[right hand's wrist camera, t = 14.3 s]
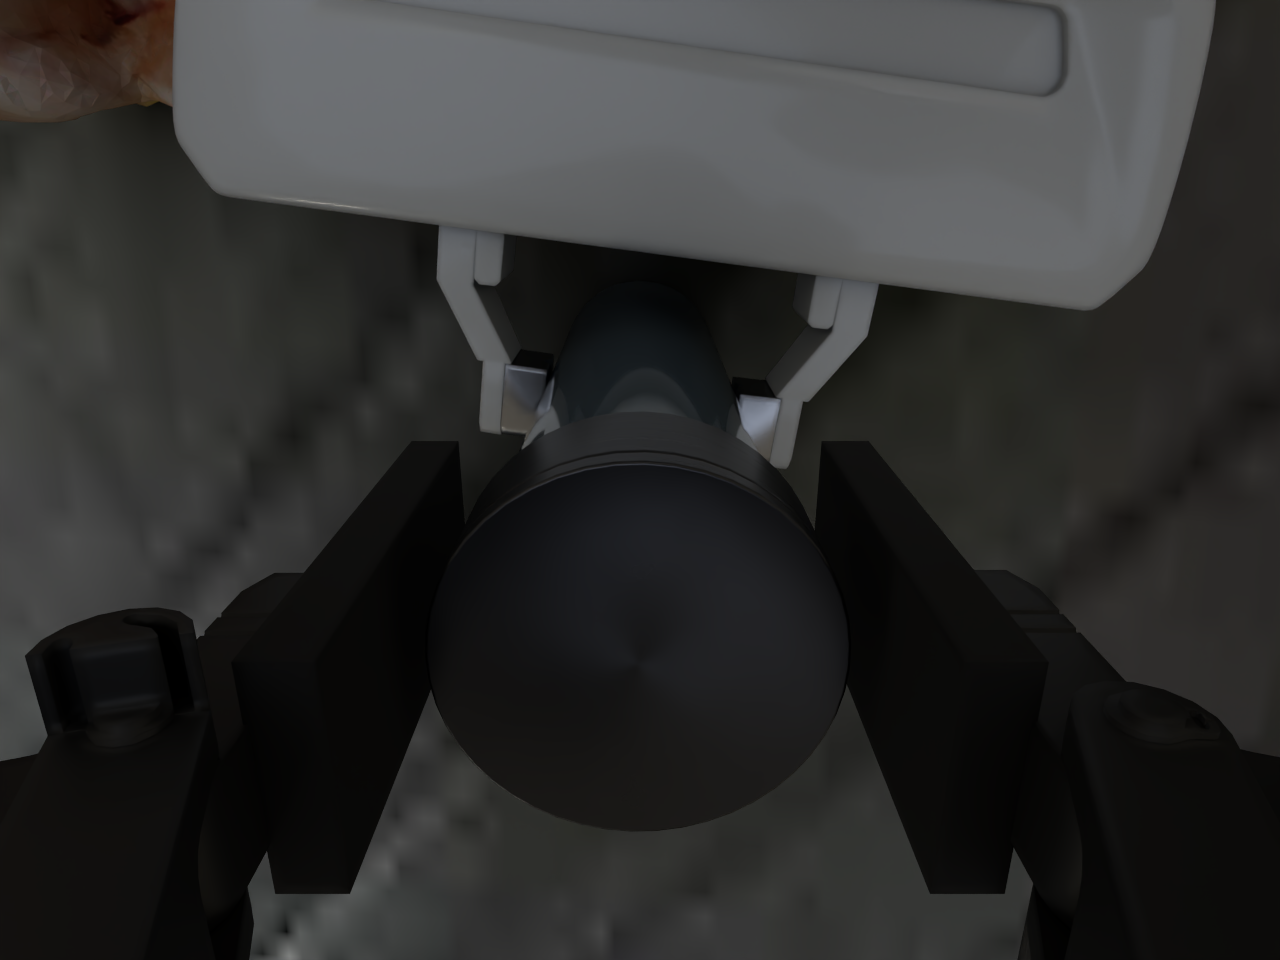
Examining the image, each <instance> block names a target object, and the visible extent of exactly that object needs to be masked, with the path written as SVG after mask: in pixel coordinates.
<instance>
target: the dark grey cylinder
mask: <svg viewBox="0 0 1280 960" xmlns="http://www.w3.org/2000/svg"><path fill="white" fill-rule="evenodd" d="M642 411H645V412H656V413H667V414H673V415H677V416H682V417H686V418H691V419H695V420H698V421H700V422H703V423H706V424H709V425H711V426H714V427H717V428H719V429H721V430H723V431H725V432H727V433H729V434H731V435H733V436H734V437H736V438H738V439H740V440H742V441H743V442H744V443H746V444H747V445H749V446H750V447H751V448H753V449H754V450H756V451H757V452H759V451H758V448H757V446H756V444H755V441H754V439H753V436H752V434H751V431H750V429H749V426H748V424H747V422H746V419H745V417H744V414H743V412H742V409H741V407H740V404H739V402H738V400H737V397H736V395H735V392H734V390H733V387H732V385H731V382H730V380H729V378H728V375H727V373H726V370H725V368H724V365H723V363H722V360H721V358H720V355H719V353H718V351H717V348H716V346H715V343H714V341H713V338H712V336H711V333H710V331H709V329H708V326H707V324H706V322H705V320H704V318H703V316H702V315H701V313H700V312H699V310H698V309H697V308H696V307H695V305H694V304H693V303H692V302H691V301H690V300H689V299H688V298H686V297H685V296H684V295H682V294H681V293H680V292H678V291H676V290H674V289H672V288H670V287H668V286H665V285H663V284H659V283H655V282H649V281H630V282H624V283H620V284H617V285H614V286H611V287H609V288H607V289H605V290H603V291H601V292H600V293H598V294H597V295H595V296H594V297H593V298H592V299H591V300H589V301H588V302H587V303H586V305H585V306H584V307H583V308H582V309H581V311H580V312H579V313H578V315H577V316H576V318H575V320H574V322H573V324H572V326H571V329H570V331H569V333H568V336H567V338H566V341H565V343H564V345H563V348H562V350H561V352H560V355H559V357H558V360H557V362H556V364H555V367H554V369H553V371H552V374H551V376H550V379H549V381H548V383H547V386H546V388H545V390H544V393H543V395H542V398H541V400H540V402H539V405H538V407H537V409H536V412H535V414H534V417H533V419H532V421H531V424H530V426H529V428H528V431H527V433H526V436H525V438H524V440H523V443H522V445H521V448H520V450H519V452H520V451H521V450H522V449H524V448H525V447H526V446H527V445H529V444H531V443H532V442H534V441H536V440H537V439H539V438H541V437H542V436H544V435H546V434H547V433H549V432H552V431H554V430H556V429H558V428H561V427H563V426H565V425H567V424H570V423H573V422H576V421H580V420H583V419H586V418H590V417H593V416H599V415H605V414H611V413H618V412H642ZM519 452H518V453H519Z"/></svg>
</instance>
